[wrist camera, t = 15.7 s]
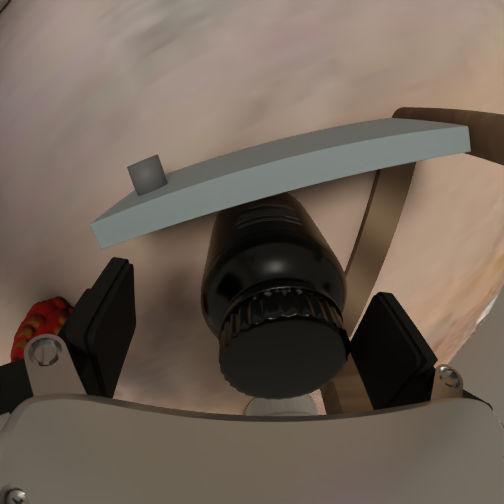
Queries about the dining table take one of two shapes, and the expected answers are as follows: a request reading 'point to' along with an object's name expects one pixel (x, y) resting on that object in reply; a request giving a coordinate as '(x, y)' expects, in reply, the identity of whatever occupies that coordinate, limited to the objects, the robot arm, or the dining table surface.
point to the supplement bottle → (274, 299)
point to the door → (271, 172)
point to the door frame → (382, 231)
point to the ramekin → (282, 407)
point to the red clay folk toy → (40, 323)
